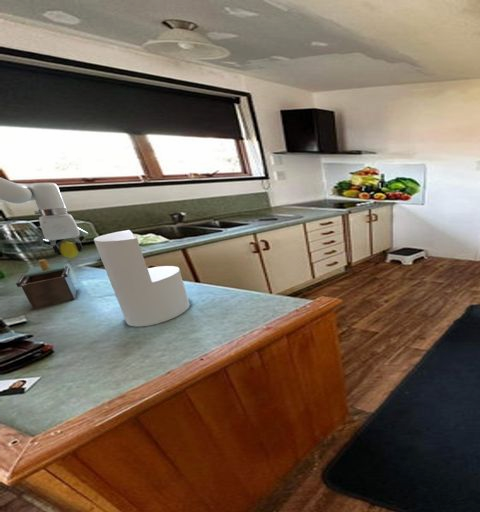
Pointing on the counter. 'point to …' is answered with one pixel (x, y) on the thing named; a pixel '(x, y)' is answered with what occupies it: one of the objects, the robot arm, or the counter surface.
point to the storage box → (48, 288)
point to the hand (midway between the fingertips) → (70, 252)
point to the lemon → (68, 249)
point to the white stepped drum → (141, 281)
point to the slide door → (46, 268)
